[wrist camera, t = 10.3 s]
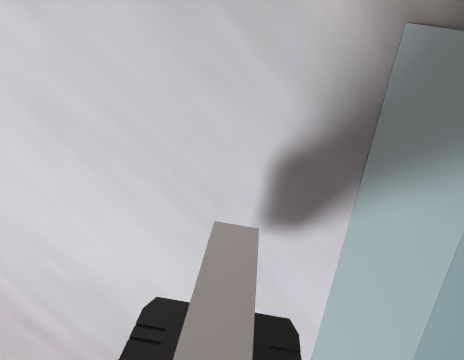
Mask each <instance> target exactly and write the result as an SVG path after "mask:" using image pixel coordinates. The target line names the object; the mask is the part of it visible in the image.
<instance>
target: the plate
mask: <svg viewBox="0 0 464 360" xmlns="http://www.w3.org/2000/svg"><path fill="white" fill-rule="evenodd" d="M311 360H464V31H462V30H454V29H447V28H440V27H433V26H426V25H419V24H412V23H405V27H404V30H403V34H402V37H401V41H400V44H399V48H398V52H397V55H396V59H395V62H394V66H393V69H392V73H391V77H390V80H389V84H388V87H387V91H386V94H385V98H384V101H383V105H382V109H381V112H380V116H379V119H378V123H377V126H376V130H375V133H374V137H373V141H372V144H371V148H370V151H369V155H368V158H367V162H366V166H365V169H364V173H363V176H362V180H361V183H360V187H359V190H358V194H357V198H356V201H355V205H354V208H353V212H352V215H351V219H350V222H349V226H348V230H347V233H346V237H345V240H344V244H343V247H342V251H341V255H340V258H339V262H338V265H337V269H336V272H335V276H334V279H333V283H332V287H331V290H330V294H329V297H328V301H327V304H326V308H325V312H324V315H323V319H322V322H321V326H320V329H319V333H318V336H317V340H316V344H315V347H314V351H313V354H312V358H311Z"/></svg>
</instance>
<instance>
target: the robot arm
mask: <svg viewBox="0 0 464 360" xmlns="http://www.w3.org/2000/svg"><path fill="white" fill-rule="evenodd" d="M258 237H259V229H258V228H252V227H246V226H240V225H234V224H228V223H222V222H216V221H214V225H213V228H212V231H211V235H210V238H209V241H208V245H207V248H206V251H205V255H204V258H203V261H202V265H201V268H200V271H199V275H198V278H197V281H196V285H195V288H194V291H193V295H192V298H191V301H190V303H189V302H183V301H178V300H172V299H166V298H161V297H156V298H155V299H154V300H152V301H151V302H150V303H149V304H148V305H146V306H145V307H144V308H143V309H142V312H141V314H140V316H139V318H138V320H137V322H136V325H135V327H134V329H133V331H132V333H131V335H130V338H129V340H128V341H127V343H126V345H125V348H124V350H123V352H122V354H121V356H120V358H119V360H301V355H300V352H301V351H300V341H299V334H298V332H297V331H296V329H295V327H294V326H293V324H292V322H291V321H290V319H288V318H282V317H276V316H270V315H265V314H259V313H255V296H256V276H257V257H258Z"/></svg>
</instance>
